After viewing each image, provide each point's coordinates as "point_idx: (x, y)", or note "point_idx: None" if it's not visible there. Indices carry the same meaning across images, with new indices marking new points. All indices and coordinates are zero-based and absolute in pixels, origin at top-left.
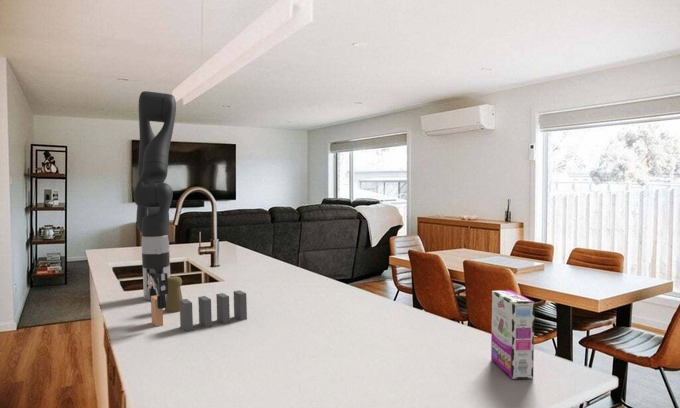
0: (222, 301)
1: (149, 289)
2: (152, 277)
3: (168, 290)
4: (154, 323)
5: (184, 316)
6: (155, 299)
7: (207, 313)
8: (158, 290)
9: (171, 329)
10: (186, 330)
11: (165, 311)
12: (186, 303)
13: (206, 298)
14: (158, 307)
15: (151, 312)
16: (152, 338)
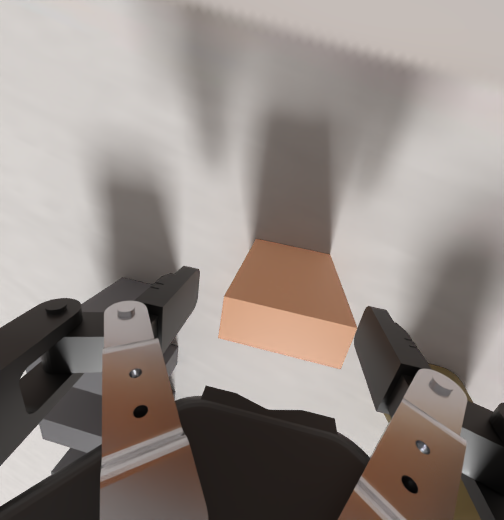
0: (69, 452)
1: (415, 377)
2: (103, 513)
3: None
4: (280, 246)
5: (93, 307)
6: (225, 299)
7: None
8: (51, 326)
9: (178, 259)
10: (120, 281)
11: (432, 365)
12: None
13: (65, 439)
14: (182, 268)
15: (332, 272)
16: (117, 157)
